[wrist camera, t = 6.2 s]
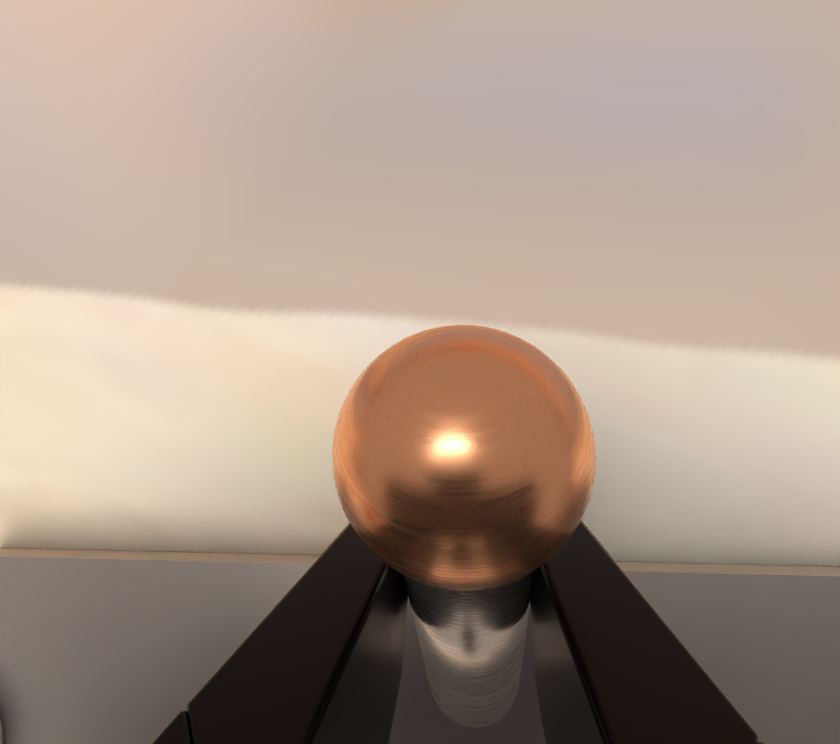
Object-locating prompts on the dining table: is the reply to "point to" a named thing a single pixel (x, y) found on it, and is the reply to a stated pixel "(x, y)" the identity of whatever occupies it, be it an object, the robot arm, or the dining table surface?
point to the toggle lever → (465, 495)
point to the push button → (0, 735)
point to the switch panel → (416, 707)
